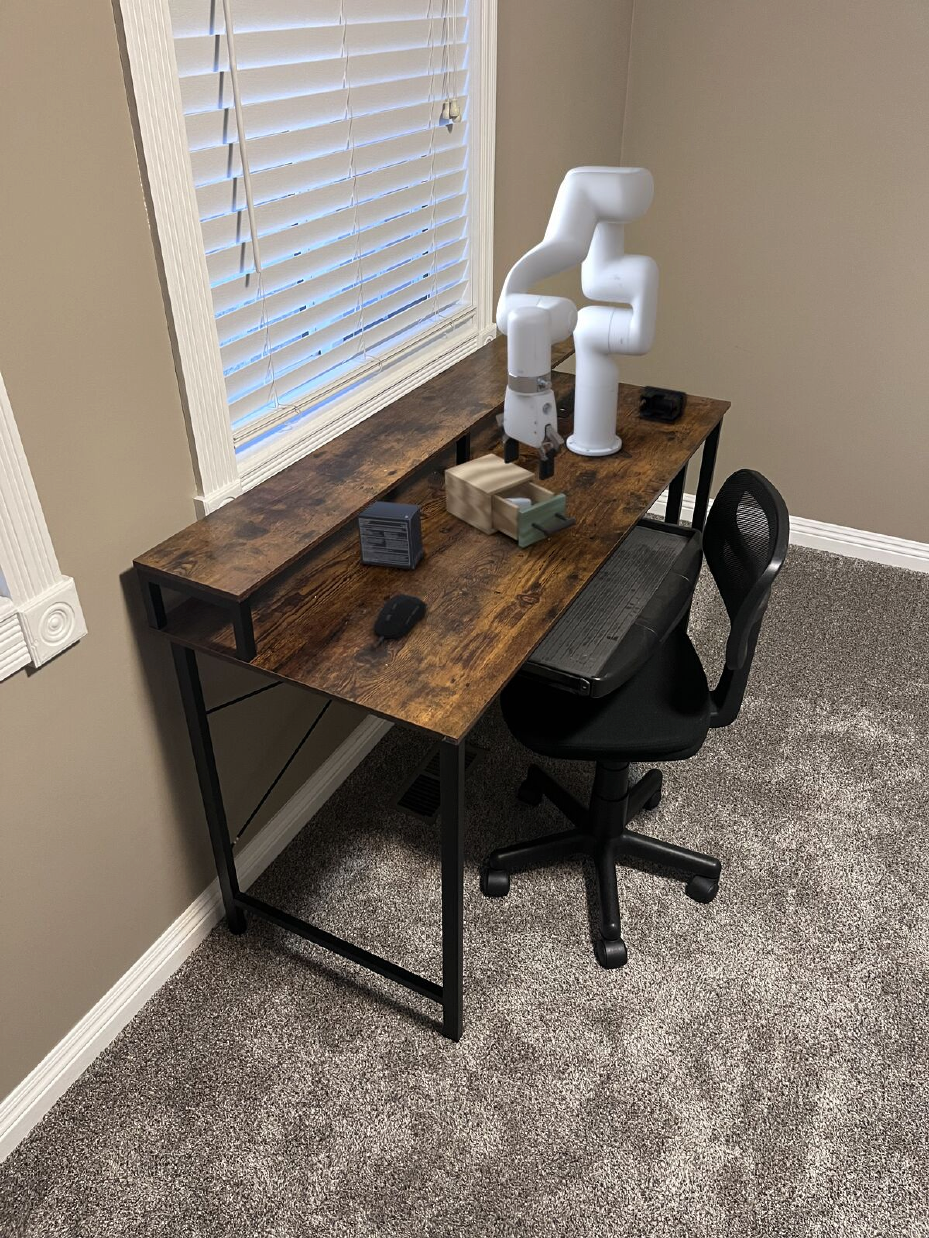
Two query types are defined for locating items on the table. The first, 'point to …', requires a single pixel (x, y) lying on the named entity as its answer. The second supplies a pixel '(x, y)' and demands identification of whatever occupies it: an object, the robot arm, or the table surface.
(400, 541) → the small box
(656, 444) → the table surface
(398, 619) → the gaming mouse
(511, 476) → the cabinet
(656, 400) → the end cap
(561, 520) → the drawer
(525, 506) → the usb wall charger
